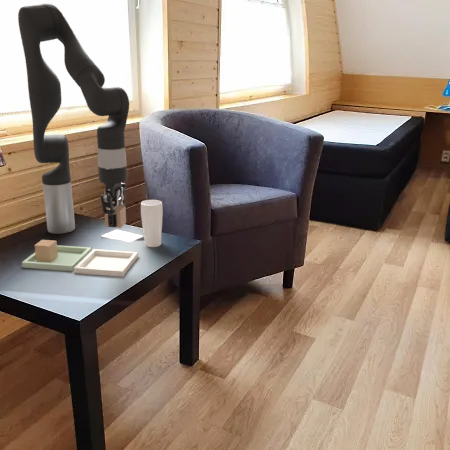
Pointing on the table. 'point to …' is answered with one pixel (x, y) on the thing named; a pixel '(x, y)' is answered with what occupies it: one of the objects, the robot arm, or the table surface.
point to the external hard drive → (122, 236)
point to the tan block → (118, 216)
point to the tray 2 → (106, 262)
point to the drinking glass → (152, 222)
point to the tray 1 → (60, 259)
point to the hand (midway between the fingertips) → (115, 223)
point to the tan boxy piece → (46, 250)
